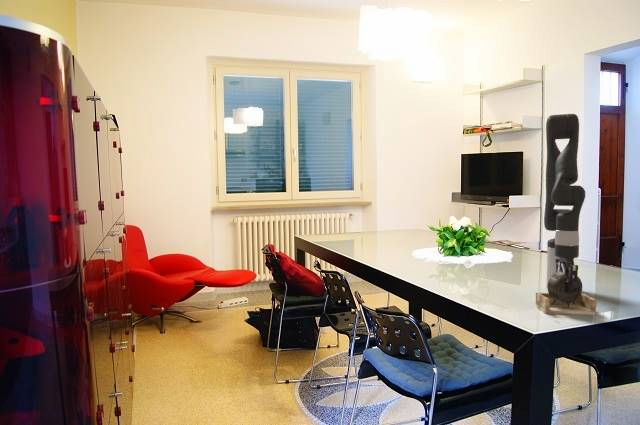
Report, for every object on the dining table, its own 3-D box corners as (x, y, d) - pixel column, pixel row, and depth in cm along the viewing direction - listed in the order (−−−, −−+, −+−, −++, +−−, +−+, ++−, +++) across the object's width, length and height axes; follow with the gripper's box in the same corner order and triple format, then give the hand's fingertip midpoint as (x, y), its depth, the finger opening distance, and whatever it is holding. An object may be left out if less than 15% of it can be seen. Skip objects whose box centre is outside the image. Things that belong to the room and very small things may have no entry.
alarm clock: (574, 302, 180) (575, 257, 179) (584, 306, 174) (585, 260, 173) (546, 304, 178) (547, 258, 177) (555, 308, 173) (556, 261, 171)
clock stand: (535, 306, 182) (535, 292, 182) (583, 307, 181) (583, 293, 180) (545, 313, 172) (545, 299, 172) (595, 314, 171) (596, 300, 171)
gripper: (548, 240, 182) (547, 286, 183) (563, 246, 168) (562, 296, 169) (569, 240, 181) (568, 287, 183) (587, 246, 167) (585, 296, 168)
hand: (565, 291), depth 176 cm, fingers closed on alarm clock, 5 cm apart
